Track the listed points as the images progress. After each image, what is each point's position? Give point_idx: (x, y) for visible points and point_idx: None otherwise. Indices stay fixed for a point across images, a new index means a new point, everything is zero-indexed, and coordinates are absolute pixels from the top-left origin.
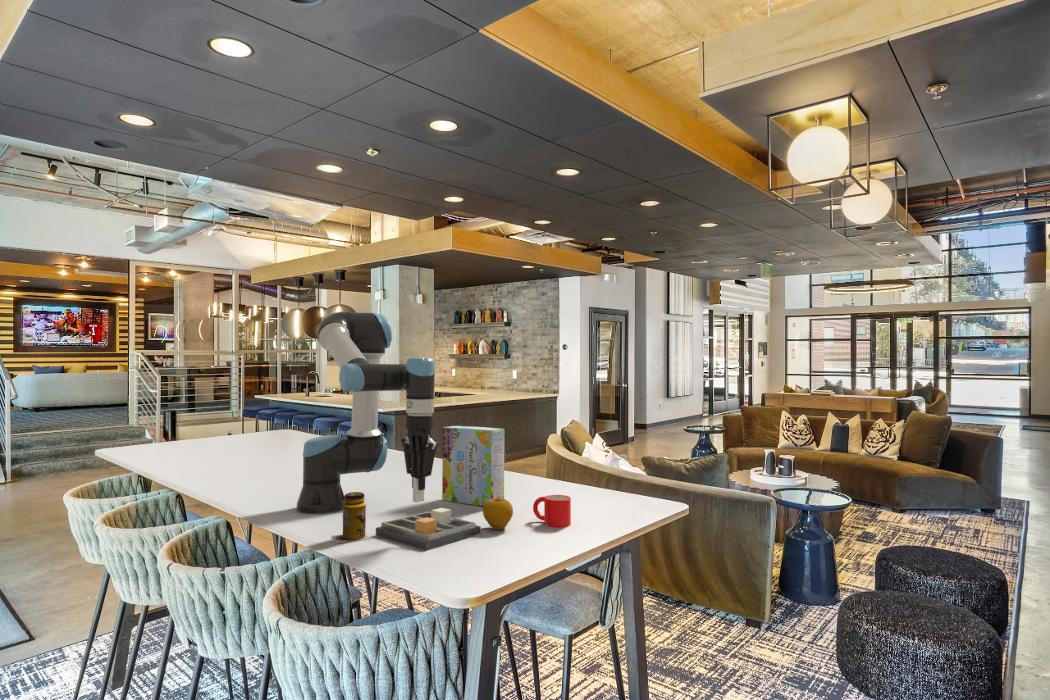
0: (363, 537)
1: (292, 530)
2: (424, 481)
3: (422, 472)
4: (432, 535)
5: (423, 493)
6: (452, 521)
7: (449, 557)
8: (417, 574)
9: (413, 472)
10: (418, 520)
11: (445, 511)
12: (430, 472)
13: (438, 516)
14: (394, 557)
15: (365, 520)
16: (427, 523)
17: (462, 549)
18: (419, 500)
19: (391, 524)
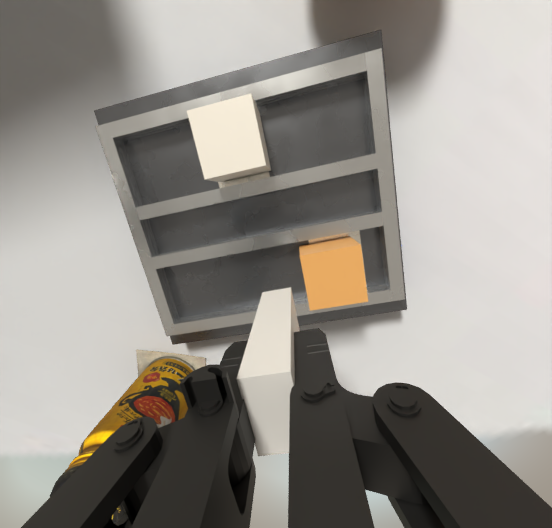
0: (193, 369)
1: (45, 450)
2: (333, 372)
3: (417, 521)
4: (403, 285)
5: (292, 308)
6: (257, 104)
7: (499, 280)
8: (536, 399)
9: (247, 506)
10: (323, 304)
11: (259, 134)
12: (452, 431)
13: (254, 170)
14: (388, 381)
15: (162, 391)
16: (365, 288)
17: (470, 210)
18: (296, 318)
19: (203, 322)
